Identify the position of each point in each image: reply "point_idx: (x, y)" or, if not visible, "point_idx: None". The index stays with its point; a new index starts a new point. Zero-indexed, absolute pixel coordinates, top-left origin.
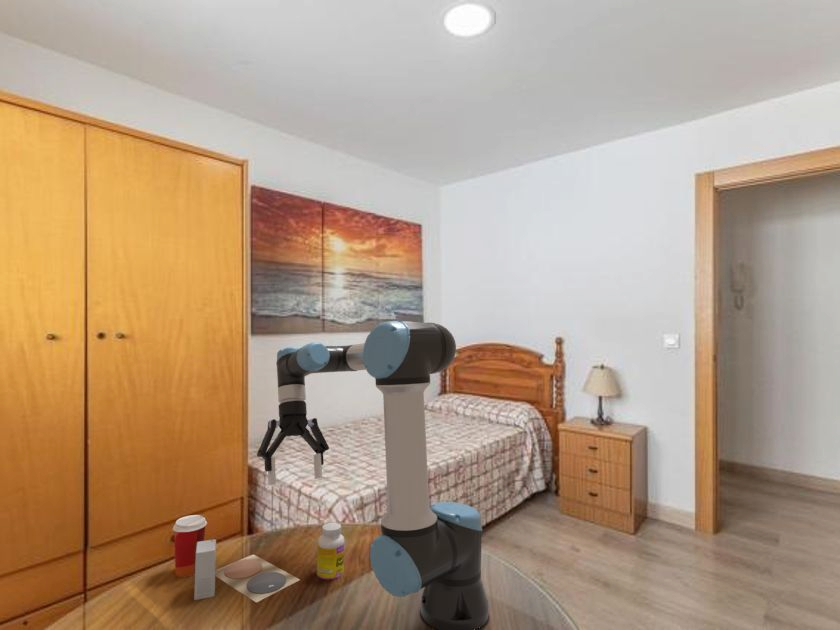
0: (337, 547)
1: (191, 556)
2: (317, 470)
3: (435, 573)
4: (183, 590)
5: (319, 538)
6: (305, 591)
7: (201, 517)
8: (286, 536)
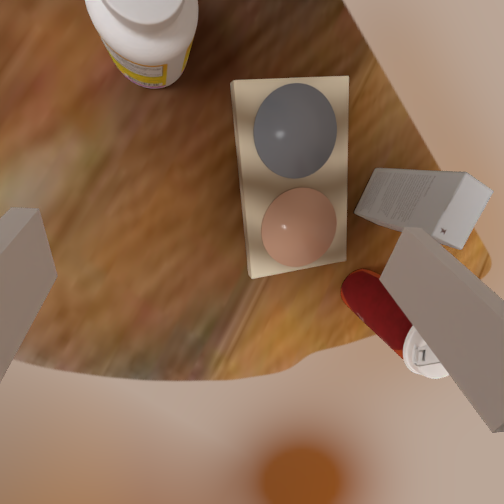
0: None
1: None
2: (19, 276)
3: None
4: (383, 247)
5: (185, 34)
6: (233, 49)
7: (420, 354)
8: (128, 338)
